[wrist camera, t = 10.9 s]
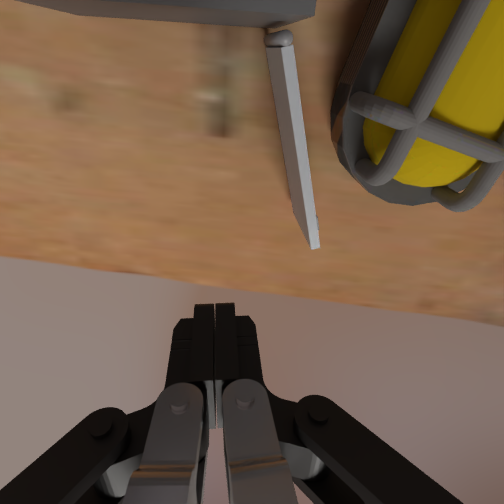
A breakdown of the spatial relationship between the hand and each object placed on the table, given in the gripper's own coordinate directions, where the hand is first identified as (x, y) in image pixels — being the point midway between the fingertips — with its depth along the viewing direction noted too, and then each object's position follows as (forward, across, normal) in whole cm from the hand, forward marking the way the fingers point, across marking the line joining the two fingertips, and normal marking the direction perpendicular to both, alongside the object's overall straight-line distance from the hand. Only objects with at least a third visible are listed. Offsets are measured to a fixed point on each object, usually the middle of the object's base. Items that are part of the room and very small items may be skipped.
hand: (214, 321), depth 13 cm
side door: (+19, -6, -3) cm, 20 cm away
